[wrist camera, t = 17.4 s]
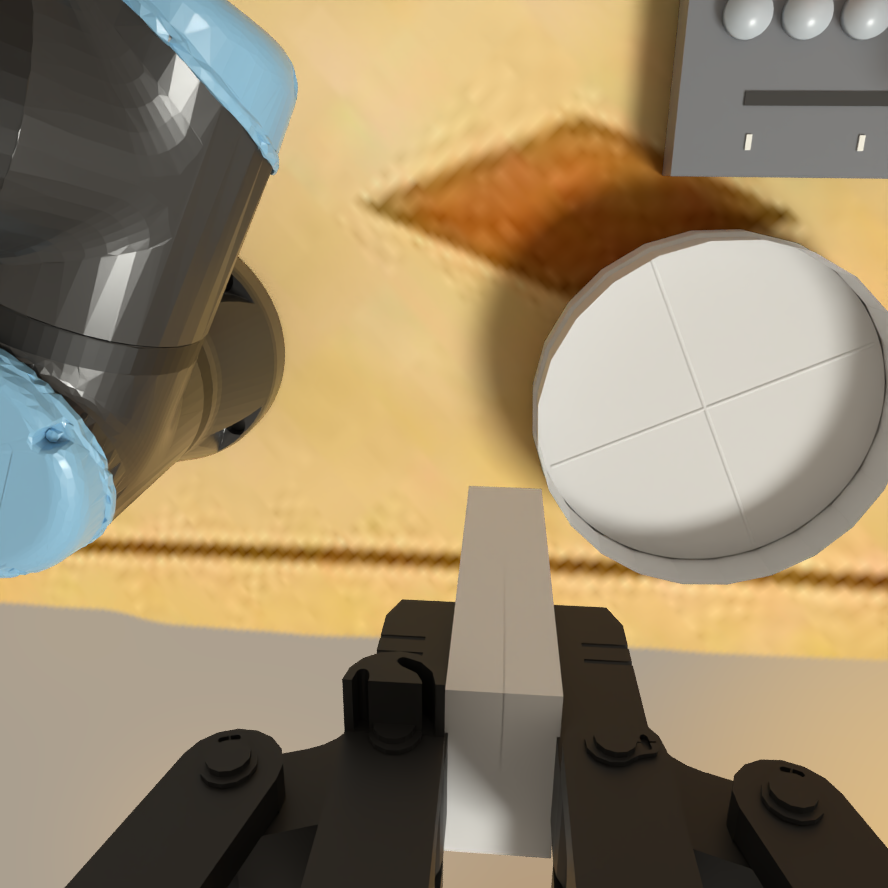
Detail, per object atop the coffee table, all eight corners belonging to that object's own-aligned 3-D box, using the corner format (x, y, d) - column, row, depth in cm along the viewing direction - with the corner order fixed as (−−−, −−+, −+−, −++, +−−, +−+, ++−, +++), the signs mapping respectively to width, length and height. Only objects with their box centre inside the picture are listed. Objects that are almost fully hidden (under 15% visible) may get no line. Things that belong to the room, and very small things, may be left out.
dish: (825, 164, 45) (862, 164, 40) (914, 484, 51) (955, 517, 46) (477, 315, 49) (474, 331, 45) (599, 592, 56) (607, 631, 51)
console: (662, 175, 45) (672, 176, 42) (695, -151, 40) (710, -176, 37) (1015, 179, 44) (1051, 180, 41) (1101, -158, 38) (1150, -184, 35)
